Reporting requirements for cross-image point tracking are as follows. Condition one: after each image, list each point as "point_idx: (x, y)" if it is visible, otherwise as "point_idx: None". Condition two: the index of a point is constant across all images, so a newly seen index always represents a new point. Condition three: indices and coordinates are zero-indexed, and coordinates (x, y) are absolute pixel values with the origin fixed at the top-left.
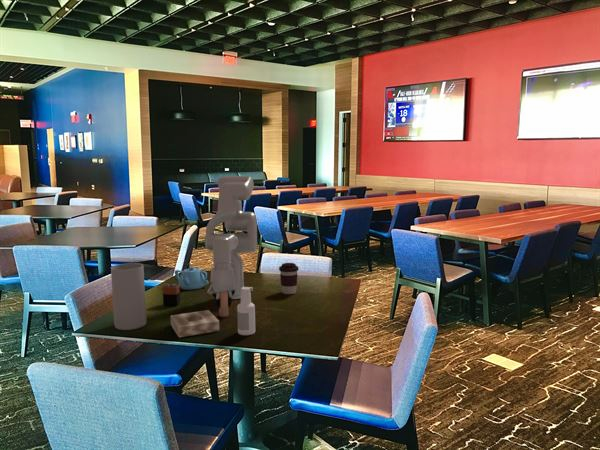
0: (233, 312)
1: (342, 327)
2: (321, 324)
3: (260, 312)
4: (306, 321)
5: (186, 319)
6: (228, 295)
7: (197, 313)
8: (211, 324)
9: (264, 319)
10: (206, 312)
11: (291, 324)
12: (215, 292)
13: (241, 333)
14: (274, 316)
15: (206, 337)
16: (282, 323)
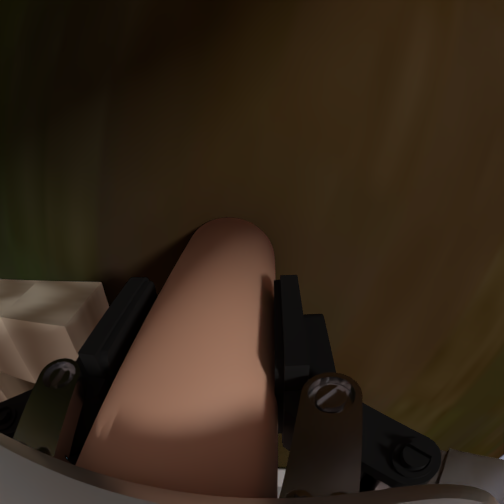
0: (347, 197)
1: (500, 457)
2: (496, 446)
3: (496, 292)
4: (499, 428)
5: (3, 394)
6: (289, 439)
7: (15, 351)
8: None
9: (430, 401)
10: None
11: (452, 448)
12: (30, 443)
13: None
14: (489, 374)
15: None
16: (442, 441)
